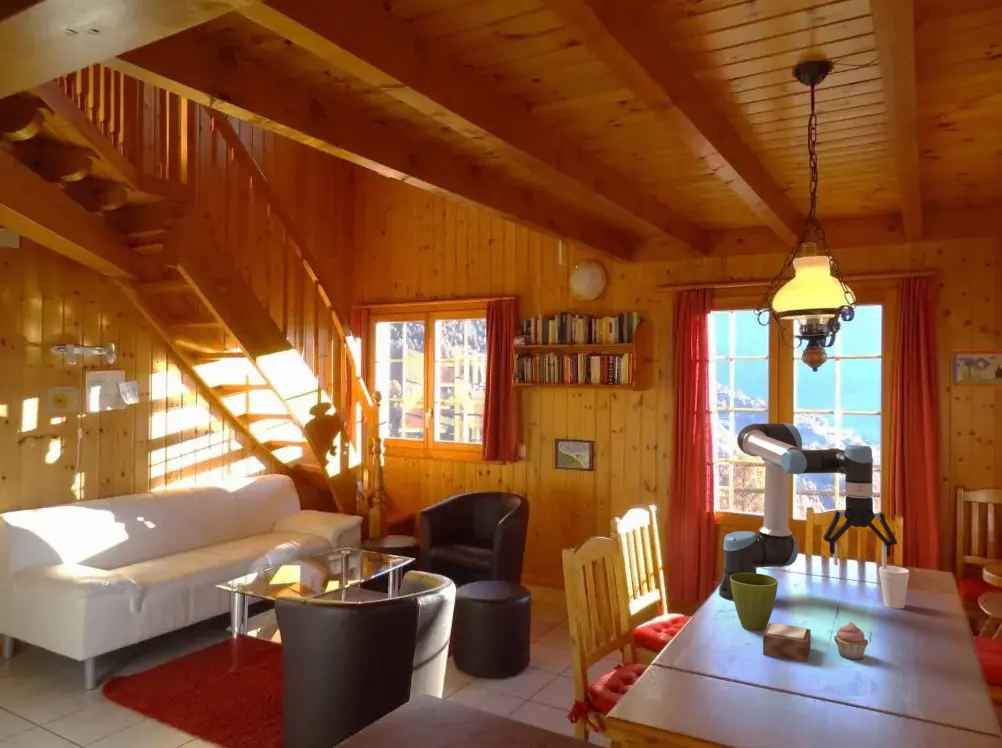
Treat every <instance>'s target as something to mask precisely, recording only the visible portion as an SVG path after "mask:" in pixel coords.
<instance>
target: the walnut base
mask: <svg viewBox="0 0 1002 748" xmlns="http://www.w3.org/2000/svg"><path fill="white" fill-rule="evenodd" d="M811 638H812V637H811V629H810V628H807V627H804V626H797V625H788V624H782V623H776V622H771V623H770V622H768V625H767V627H766V629H765V630H764V633H763V635H762V655H763V656H768V655H770V656H769V657H774V656H775V657H776V658H780V657H781V658H780V659H786V658H787V659H786V660H788V659H789V660H794V661H799V662H806V663H807V662H808V659H809V656H810V652H811V649H812V648H811V647H812V645H811V644H812V643H811V641H812V640H811ZM810 648H811V649H810ZM775 657H774V658H775Z"/></svg>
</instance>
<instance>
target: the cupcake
mask: <svg viewBox="0 0 1002 748" xmlns="http://www.w3.org/2000/svg"><path fill="white" fill-rule="evenodd" d="M833 640H834V641H835V643H836V645H837V649H838V650H837V651H838V654H839V655H840V656H841V657H843V658H845V659H847V660H848V659H849V660H861V659H863V658H864V655H865V652H866V649H867V647H868V645H869V640H868V639H866V637H865V633H864V631H863V630H862V629H861V628H859V626H857V625H856V624H855V623H853V622H851V621H849V623H848V624H845V625H842V626H840V628H839V629H838V630H837V631H836V635H834V636H833Z"/></svg>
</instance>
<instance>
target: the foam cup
mask: <svg viewBox="0 0 1002 748" xmlns="http://www.w3.org/2000/svg"><path fill="white" fill-rule="evenodd" d="M878 575H879V580H880V586H881V592H882V598H883V600H882V601H883V605H884V606H885V607H888V608H891V609H897V610H898V609H904V608H905V604H906V598H907V591H908V584H909V579H910V570H909V569H907V568H905V567H900V566H894V565H893V566H892V565H887V568H883V567H882V566H880V567H879V568H878Z"/></svg>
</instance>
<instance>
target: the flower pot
mask: <svg viewBox="0 0 1002 748" xmlns="http://www.w3.org/2000/svg"><path fill="white" fill-rule="evenodd" d="M730 582H731V589H732V594H733V599H734V600H733V602H734V607H735V610H736V613H737V617H738V619H739V622H740V624H741V627H742V628H743V629H744V630H747V631H750V632H763V630H764V631H765V630H766V628H767V626H768V624H769V623H770V619H771V616H772V614H773V613H772V612H773V611H774V610H773V609H774V606H775V603H776V597H777V593H778V584H779V579H777V578H775V577H773V576H771V575H768V574H764V573H757V572H756V573H737V574H733V575H731V576H730Z"/></svg>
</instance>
